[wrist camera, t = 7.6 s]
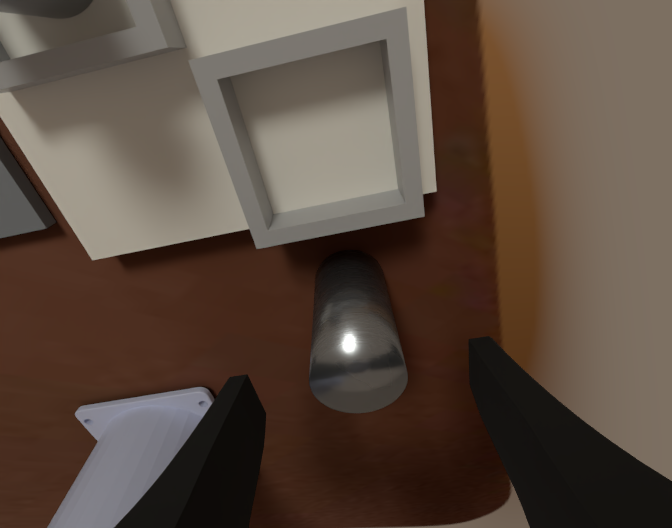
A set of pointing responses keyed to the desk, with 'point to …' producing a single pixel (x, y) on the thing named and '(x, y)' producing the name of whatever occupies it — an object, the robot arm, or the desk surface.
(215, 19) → the build board
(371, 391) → the pin
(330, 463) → the desk surface
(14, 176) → the tile
